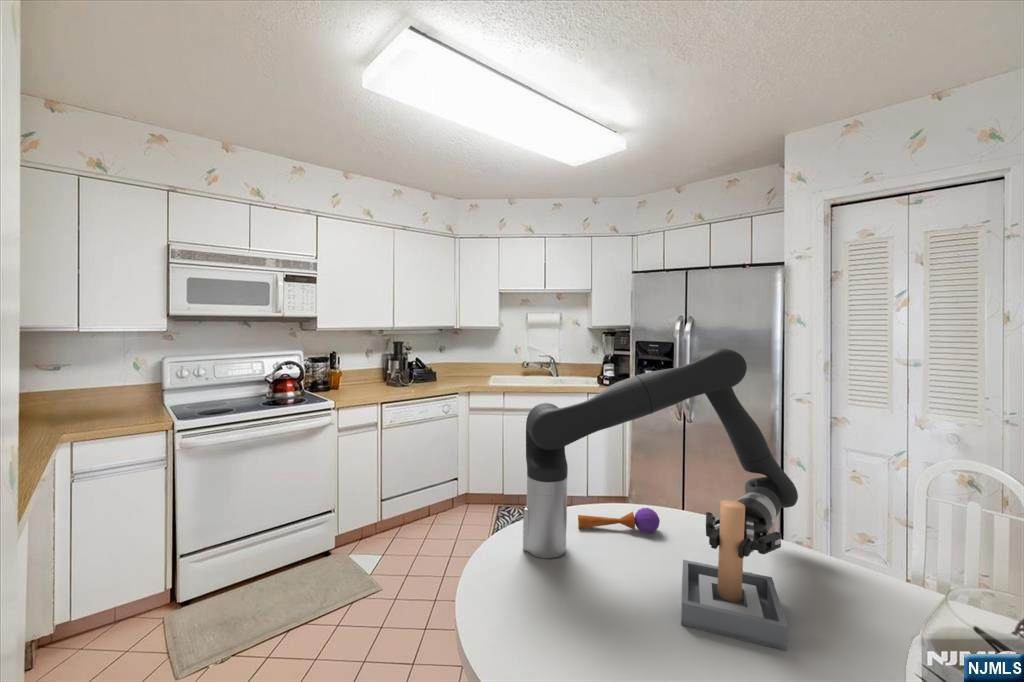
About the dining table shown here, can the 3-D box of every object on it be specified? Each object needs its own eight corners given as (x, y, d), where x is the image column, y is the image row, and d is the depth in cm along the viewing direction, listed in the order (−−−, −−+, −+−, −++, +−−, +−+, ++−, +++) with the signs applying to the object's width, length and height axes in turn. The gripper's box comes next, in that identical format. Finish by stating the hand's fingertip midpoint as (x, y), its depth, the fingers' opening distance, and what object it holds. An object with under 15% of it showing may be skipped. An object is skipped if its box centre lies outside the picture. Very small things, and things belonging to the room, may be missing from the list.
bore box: (681, 624, 79) (681, 602, 78) (682, 578, 93) (682, 559, 92) (786, 650, 73) (787, 627, 73) (770, 597, 87) (771, 577, 86)
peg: (717, 598, 81) (721, 507, 80) (716, 586, 85) (719, 498, 84) (742, 603, 80) (746, 510, 79) (740, 591, 84) (743, 502, 83)
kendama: (577, 506, 118) (655, 505, 116) (578, 530, 117) (657, 529, 115) (578, 512, 112) (660, 510, 110) (579, 537, 111) (662, 536, 109)
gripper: (716, 488, 97) (687, 515, 84) (792, 508, 88) (772, 541, 75) (715, 522, 98) (685, 554, 85) (791, 545, 88) (770, 584, 75)
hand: (726, 547), depth 80 cm, fingers closed on peg, 4 cm apart
